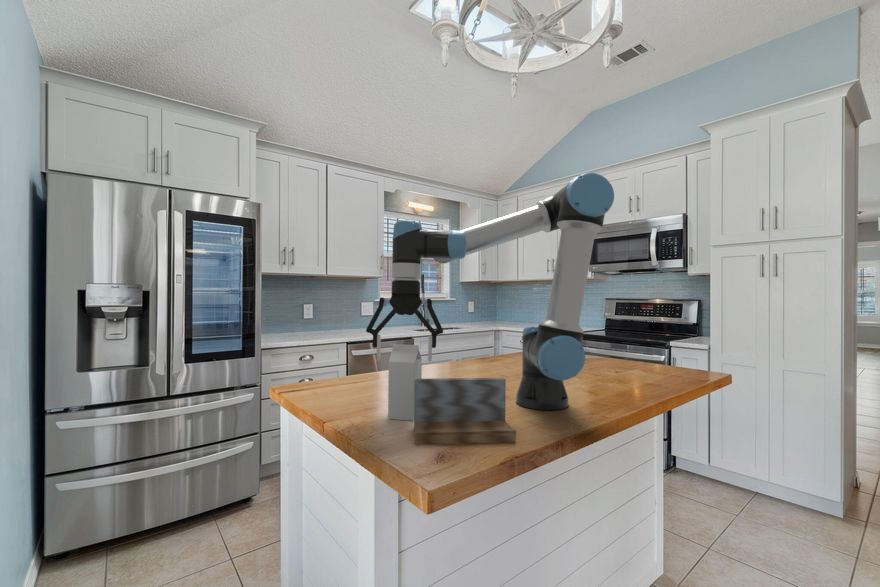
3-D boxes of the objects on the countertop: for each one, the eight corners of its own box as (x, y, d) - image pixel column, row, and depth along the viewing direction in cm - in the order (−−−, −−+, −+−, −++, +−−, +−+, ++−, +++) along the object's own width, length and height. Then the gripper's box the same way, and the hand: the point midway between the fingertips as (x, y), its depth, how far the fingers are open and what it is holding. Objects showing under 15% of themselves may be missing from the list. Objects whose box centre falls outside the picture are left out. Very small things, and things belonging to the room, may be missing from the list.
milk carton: (414, 421, 105) (415, 346, 105) (387, 419, 106) (388, 346, 106) (421, 413, 112) (421, 343, 112) (396, 411, 113) (396, 342, 113)
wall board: (503, 426, 101) (503, 377, 101) (515, 442, 90) (516, 387, 90) (413, 428, 99) (414, 378, 99) (415, 445, 88) (416, 389, 88)
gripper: (450, 281, 114) (449, 358, 114) (359, 279, 112) (358, 357, 111) (454, 280, 107) (452, 362, 106) (357, 278, 104) (355, 361, 104)
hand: (404, 360), depth 109 cm, fingers open, 13 cm apart
